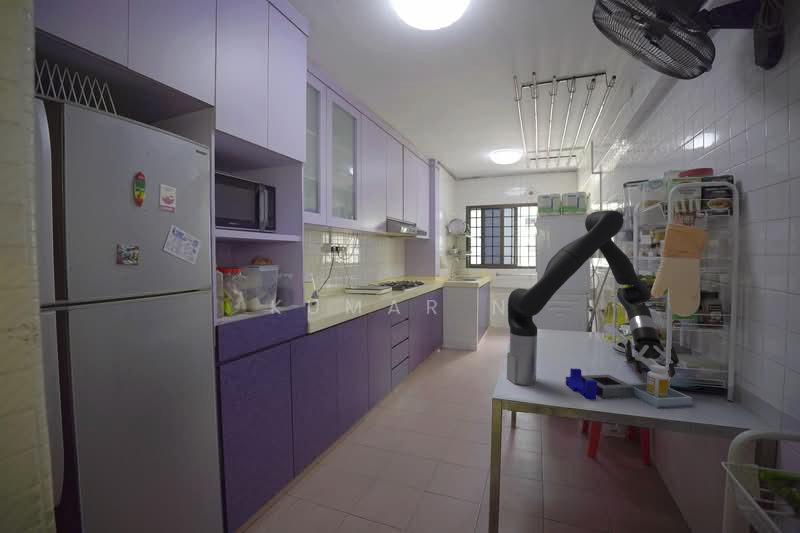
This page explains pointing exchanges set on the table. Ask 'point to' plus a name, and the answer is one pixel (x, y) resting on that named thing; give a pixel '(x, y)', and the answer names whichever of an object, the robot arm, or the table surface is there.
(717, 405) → the table surface
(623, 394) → the tray
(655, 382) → the supplement bottle
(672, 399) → the tray
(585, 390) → the blue stepped block
